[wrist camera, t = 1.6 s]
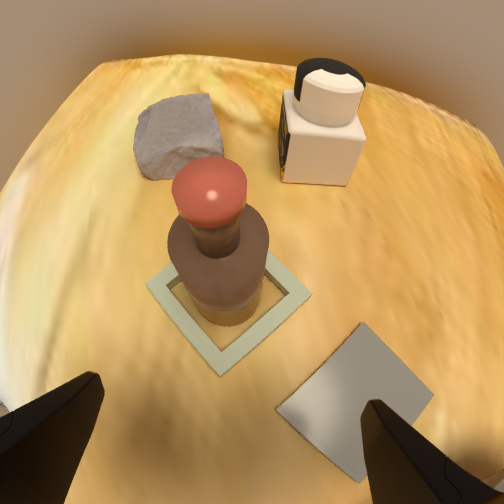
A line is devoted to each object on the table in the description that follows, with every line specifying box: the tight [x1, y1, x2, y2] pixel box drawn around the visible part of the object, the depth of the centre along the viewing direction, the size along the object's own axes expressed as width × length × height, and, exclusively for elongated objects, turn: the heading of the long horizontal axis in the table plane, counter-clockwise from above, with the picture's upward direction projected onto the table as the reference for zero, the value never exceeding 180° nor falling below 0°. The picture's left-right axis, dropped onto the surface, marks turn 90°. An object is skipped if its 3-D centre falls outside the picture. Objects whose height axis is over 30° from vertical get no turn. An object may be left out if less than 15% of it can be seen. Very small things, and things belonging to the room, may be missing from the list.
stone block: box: [133, 93, 224, 181], centre depth 31 cm, size 12×5×10 cm
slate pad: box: [275, 322, 434, 483], centre depth 19 cm, size 10×10×1 cm
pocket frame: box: [145, 250, 312, 377], centre depth 23 cm, size 10×10×1 cm
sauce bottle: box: [168, 157, 269, 326], centre depth 18 cm, size 5×5×14 cm
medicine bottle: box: [278, 58, 366, 186], centre depth 25 cm, size 7×7×12 cm
